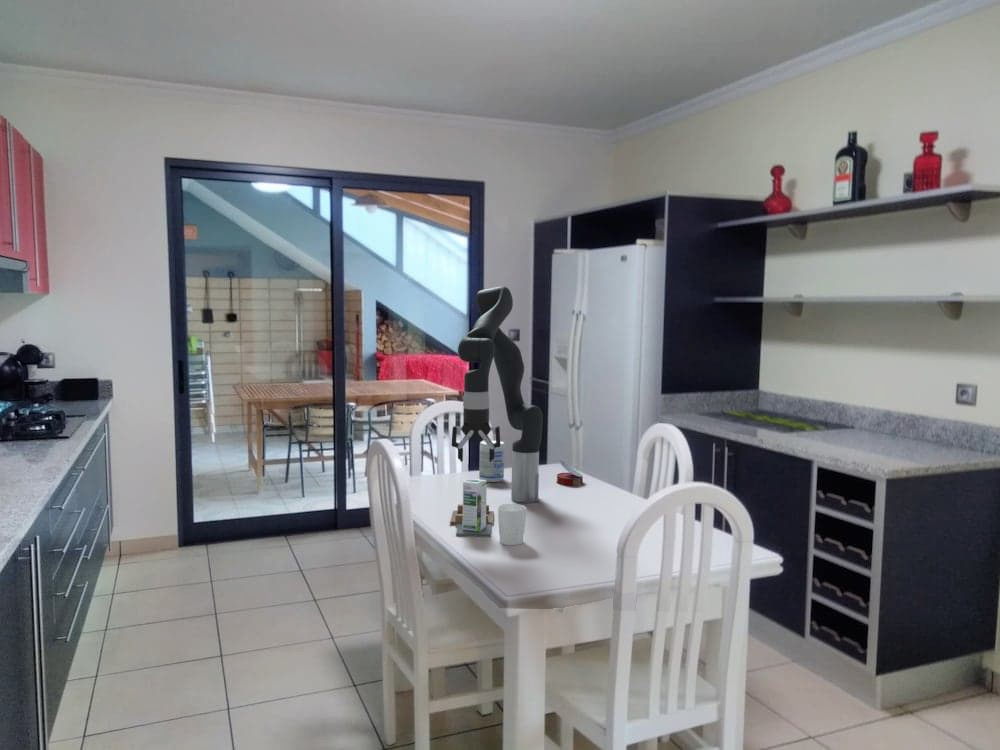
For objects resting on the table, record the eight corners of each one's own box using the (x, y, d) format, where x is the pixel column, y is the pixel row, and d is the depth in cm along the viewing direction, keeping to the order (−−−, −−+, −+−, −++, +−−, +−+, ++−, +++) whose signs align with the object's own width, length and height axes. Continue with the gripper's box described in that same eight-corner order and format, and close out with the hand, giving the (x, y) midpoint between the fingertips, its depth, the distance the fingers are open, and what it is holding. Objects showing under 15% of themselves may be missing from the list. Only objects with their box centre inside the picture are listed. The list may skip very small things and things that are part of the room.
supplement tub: (497, 484, 274) (498, 445, 273) (474, 481, 278) (475, 443, 276) (507, 478, 283) (508, 441, 281) (485, 476, 287) (486, 439, 285)
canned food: (565, 491, 284) (572, 467, 287) (585, 493, 276) (591, 469, 279) (547, 481, 277) (554, 457, 280) (566, 484, 269) (573, 458, 272)
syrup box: (461, 530, 214) (462, 481, 212) (468, 524, 219) (469, 477, 218) (479, 532, 212) (480, 483, 210) (486, 526, 217) (487, 479, 216)
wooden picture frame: (493, 514, 234) (493, 505, 233) (492, 525, 221) (493, 516, 221) (453, 513, 234) (453, 504, 233) (450, 524, 221) (450, 515, 221)
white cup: (498, 537, 211) (498, 503, 210) (525, 537, 210) (526, 504, 209) (497, 545, 203) (497, 510, 202) (525, 546, 202) (526, 511, 202)
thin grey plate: (491, 526, 220) (491, 523, 220) (490, 536, 210) (490, 534, 210) (458, 525, 220) (458, 523, 220) (456, 536, 211) (456, 533, 210)
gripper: (500, 404, 216) (500, 458, 217) (452, 404, 216) (452, 458, 217) (500, 408, 208) (500, 464, 210) (451, 408, 208) (450, 463, 210)
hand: (475, 461), depth 213 cm, fingers open, 8 cm apart
